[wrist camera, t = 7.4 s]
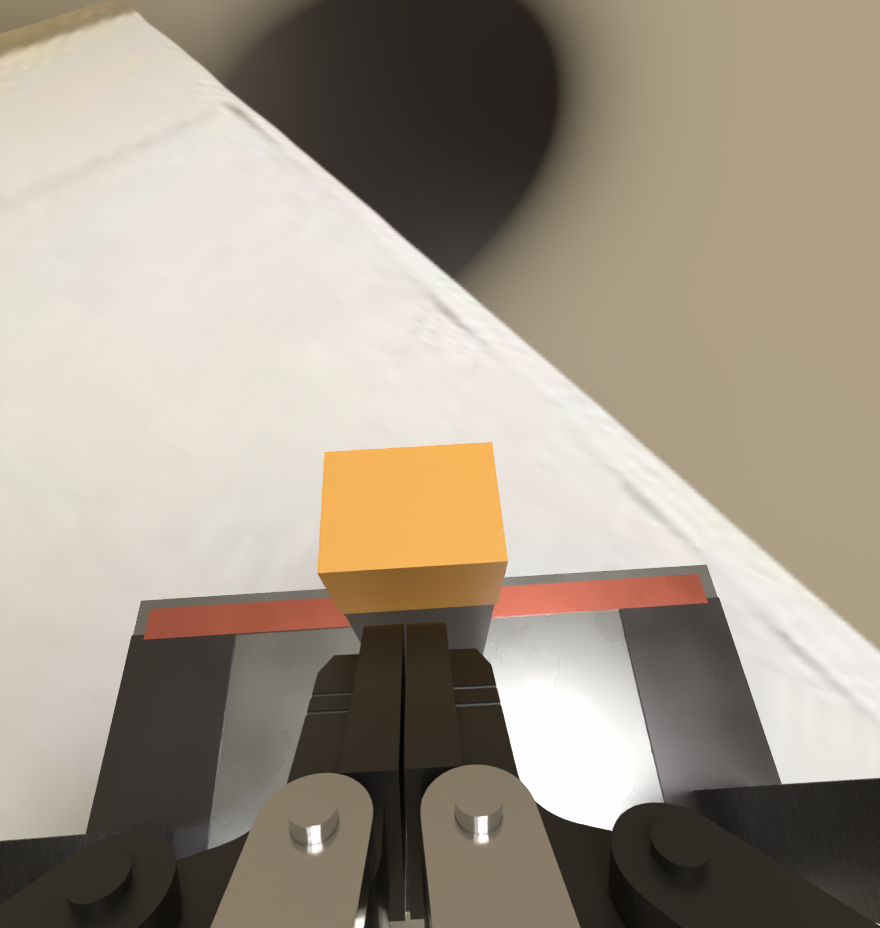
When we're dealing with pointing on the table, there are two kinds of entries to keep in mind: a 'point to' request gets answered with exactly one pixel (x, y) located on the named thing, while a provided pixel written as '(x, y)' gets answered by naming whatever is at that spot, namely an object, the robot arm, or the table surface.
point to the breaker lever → (414, 538)
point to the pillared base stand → (524, 707)
